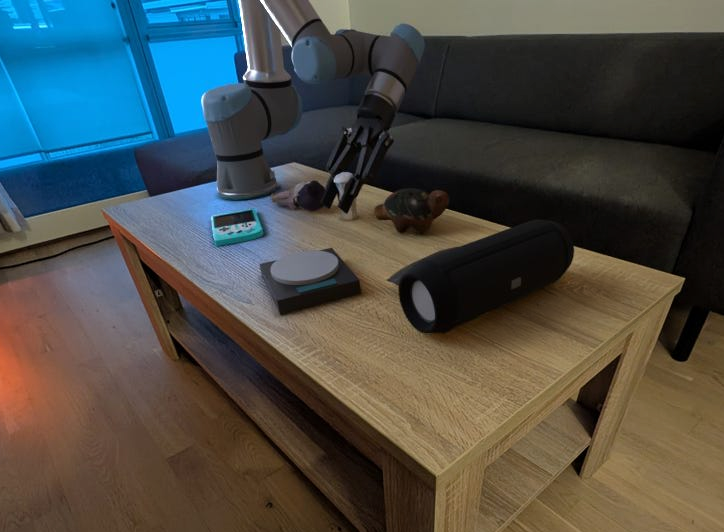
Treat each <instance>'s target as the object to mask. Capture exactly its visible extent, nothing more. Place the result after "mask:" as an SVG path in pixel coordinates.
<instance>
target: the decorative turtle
mask: <svg viewBox="0 0 724 532" xmlns="http://www.w3.org/2000/svg"><path fill="white" fill-rule="evenodd" d="M449 203H450V198H449V195H448V194H447V193H446V192H445V191H443V190H440V189H436V190H432V191H431V192H430V193H428V192H427V191H426V190H424V189H420V188H402V189H398V190H396V191H394V192H393V193H391V194H390V195H389V196H388V197H387V198H386V199H385V200H384V202H383V203H382V204H378V205H376V206H375V207H374V209H373V212H374V216H375V218H376V220H378V221H391V222H392V223H393V225H394V228H395V230H396V232H397V233H399V234H403V233H405V232H407V230H409V229H410V228H412V229H413V230H414V231H415V232H416V234H418V235H419V236H424V235H425V234H426V233H427V232H428V229H429V227H430V225H432V223H433V221H435V220H436V219H438V218H439V217H441V215H443V214H444V212H445V211H446V209H447V207H448V206H449Z"/></svg>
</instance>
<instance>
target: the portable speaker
mask: <svg viewBox="0 0 724 532" xmlns="http://www.w3.org/2000/svg"><path fill="white" fill-rule="evenodd" d="M456 247H457V248H454V249H452V250H449V251H446V252H443V253H441V254H438V255H435V256H433V257H430V258H427V259H424V260H422V261H419V262H417V263H416V264H415V265H414V266H413V267H412V268H410V269H409V270H408V271H407V272H406V273H405V274H404V275H403V276H402V278H401V280H400V283H399V286H398V299H399V304H400V306H401V309H402V312H403V314H404V316H405V317H406V319H407V321H408V323H410V325H411V326H412V327H413V328H414V329H415V330H417V331H418V332H419V333H422V334H426V335H427V334H429V335H431V334H446V333H449V332H450V331H452V330H454V329H456V328H459V327H460V326H463V325H465V324H467V323H469V322H471V321H474V320H476V319H478V318H481V317H482V316H484V315H486V314H489V313H491V312H494V311H496V310H497V309H500V308H502V307H504V306H506V305H508V304H511V303H514V302H515V301H517V300H519V299H522V298H524V297H526V296H528V295H530V294H532V293H535V292H536V291H539V290H540V289H543V288H546V287H548V286H550V285H552V284H555V283H557V282H558V281H559V280H560V279H561V278H562V277H563V276H564V275H565V274H566V272H567V271H568V269H569V268H570V266H571V265H572V263H573V260H574V258H575V257H574V256H575V245H574V241H573V238H572V235H571V234H570V233H569V231H568V230H567V229H566V228H565V226H563V225H562V224H560V223H559V222H556V221H552V220H547V219H541V218H538V219H532V220H529V221H526V222H523V223H520V224H517V225H515V226H512V227H509V228H507V229H504V230H501V231H498V232H496V233H493V234H489V235H488V236H485V237H482V238H479V239H476V240H473V241H470V242H469V243H466V244H463V245H460V246H456Z"/></svg>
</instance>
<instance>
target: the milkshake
mask: <svg viewBox="0 0 724 532" xmlns="http://www.w3.org/2000/svg"><path fill="white" fill-rule="evenodd" d="M327 172H328V174H329V176H330V175H331V174H330V172H329V171H327ZM353 174H354V173H351V172H349V171H345V172H342V173H340V174H338V175H336V176H335V178H334V179H333V180H334V184H335V188H336V192H337V195H336V197H337V201H338V203H339V202H340V200H341V197H342V195H343V193H344V191H345V189H346V186H347V184H348V182H349V180H350V178H351V177H352V178H354V179H355V177H354V176H353ZM331 177H332V176H331ZM332 178H333V177H332ZM357 206H358V205H357V197H356V198H354V201H353V203H352V205H351V207H350V209H349V212H348V214H346V213H344V212H343V211H342V210H341V209H339V211H340V215H341V218H342V219H343V220H347V221H349V220H354V219H356V218H357V217H358V207H357Z"/></svg>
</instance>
